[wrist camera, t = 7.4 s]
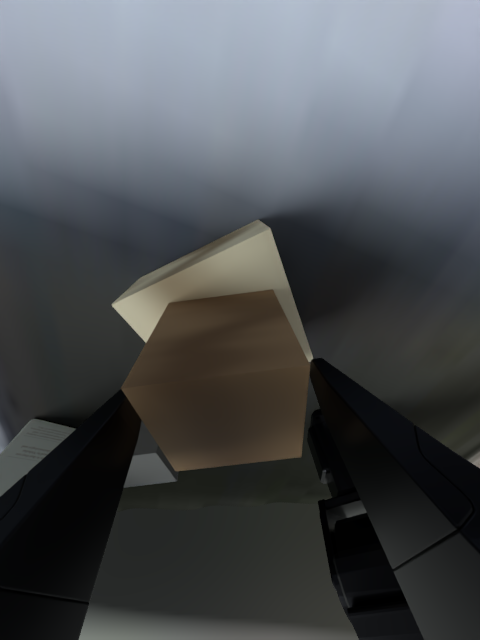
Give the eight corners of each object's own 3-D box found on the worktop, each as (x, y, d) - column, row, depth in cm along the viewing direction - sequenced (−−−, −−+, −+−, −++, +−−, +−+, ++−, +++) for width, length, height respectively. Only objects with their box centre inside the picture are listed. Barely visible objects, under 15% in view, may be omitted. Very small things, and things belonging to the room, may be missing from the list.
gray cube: (172, 394, 18) (156, 452, 14) (186, 424, 21) (176, 481, 17) (120, 401, 19) (88, 461, 14) (141, 429, 21) (119, 488, 17)
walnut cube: (272, 289, 9) (310, 365, 5) (275, 365, 12) (301, 457, 8) (168, 302, 9) (120, 388, 5) (193, 375, 12) (175, 471, 8)
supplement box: (31, 415, 19) (-225, 702, 8) (112, 436, 21) (-4, 675, 11) (22, 450, 22) (-175, 692, 11) (93, 464, 24) (-11, 673, 14)
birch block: (257, 218, 11) (270, 228, 8) (294, 323, 15) (313, 360, 12) (142, 275, 13) (111, 304, 9) (204, 358, 17) (198, 399, 13)
